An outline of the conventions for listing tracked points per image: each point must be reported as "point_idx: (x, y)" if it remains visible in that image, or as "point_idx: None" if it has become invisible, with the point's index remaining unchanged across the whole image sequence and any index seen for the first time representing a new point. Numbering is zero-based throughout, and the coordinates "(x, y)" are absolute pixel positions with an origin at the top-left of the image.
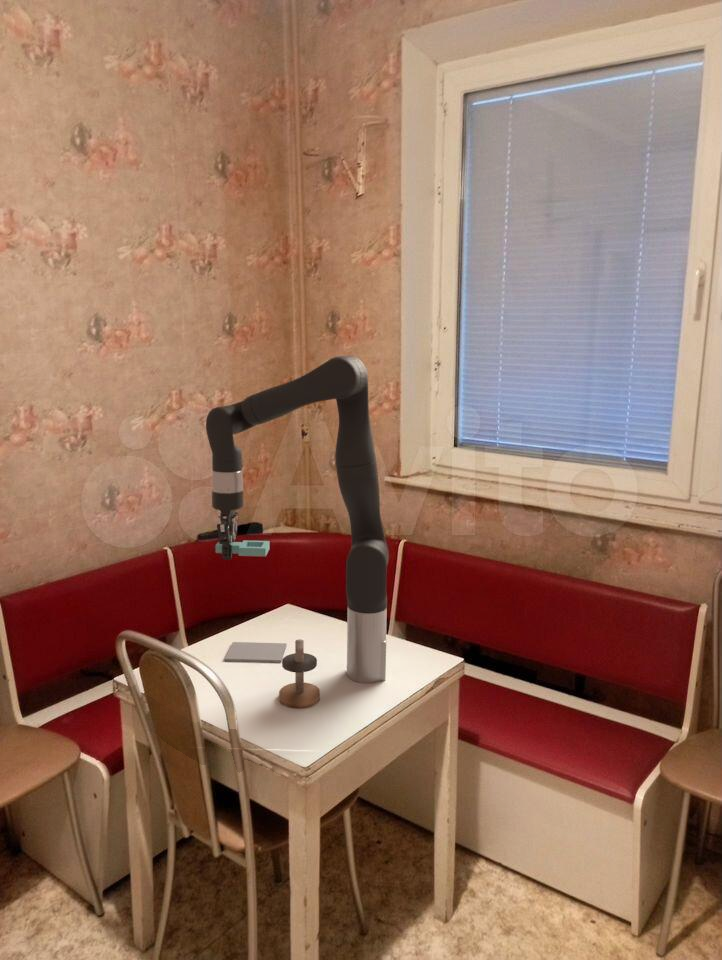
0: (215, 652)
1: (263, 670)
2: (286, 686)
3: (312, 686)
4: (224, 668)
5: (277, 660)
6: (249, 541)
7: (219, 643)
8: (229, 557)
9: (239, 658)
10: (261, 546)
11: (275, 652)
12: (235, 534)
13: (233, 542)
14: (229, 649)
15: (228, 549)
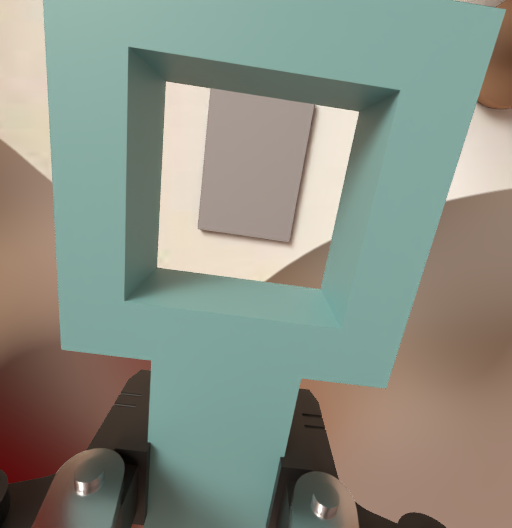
0: (237, 263)
1: (344, 149)
2: (485, 86)
3: (507, 10)
4: (320, 238)
5: (312, 111)
6: (104, 277)
7: (189, 258)
8: None
9: (291, 208)
10: (151, 107)
11: (267, 117)
12: (6, 498)
13: (164, 445)
14: (239, 234)
15: (329, 454)
